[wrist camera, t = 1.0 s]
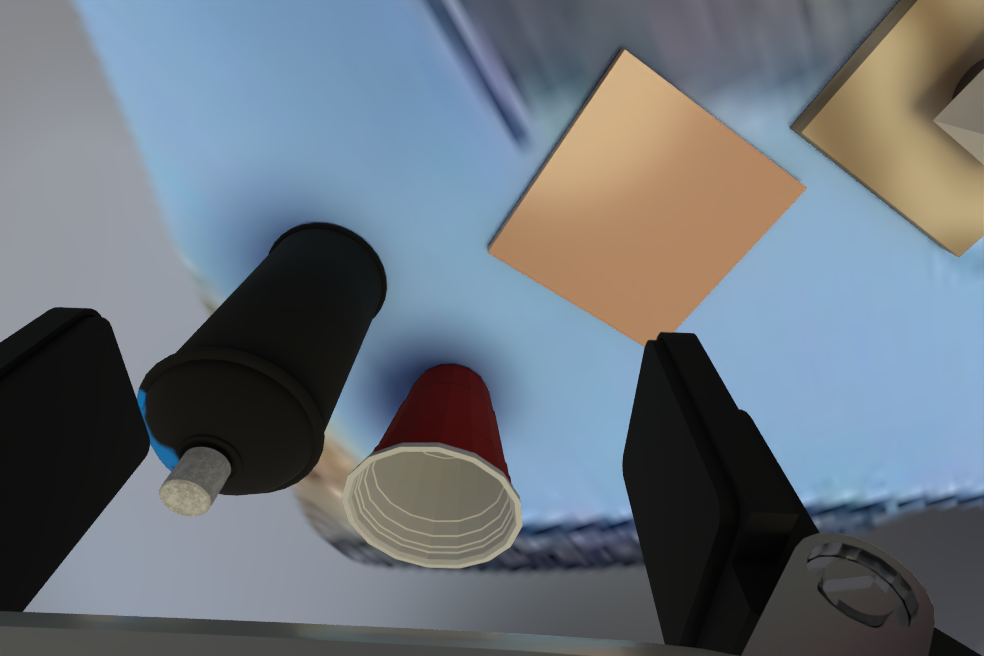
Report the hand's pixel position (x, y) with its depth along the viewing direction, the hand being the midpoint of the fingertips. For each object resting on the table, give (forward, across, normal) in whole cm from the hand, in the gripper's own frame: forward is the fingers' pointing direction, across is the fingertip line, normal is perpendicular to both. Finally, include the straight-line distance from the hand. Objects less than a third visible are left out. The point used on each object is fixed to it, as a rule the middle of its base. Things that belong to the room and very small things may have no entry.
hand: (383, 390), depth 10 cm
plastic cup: (+27, +1, +20) cm, 34 cm away
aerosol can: (+27, +10, +11) cm, 31 cm away
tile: (+27, -11, +5) cm, 30 cm away
